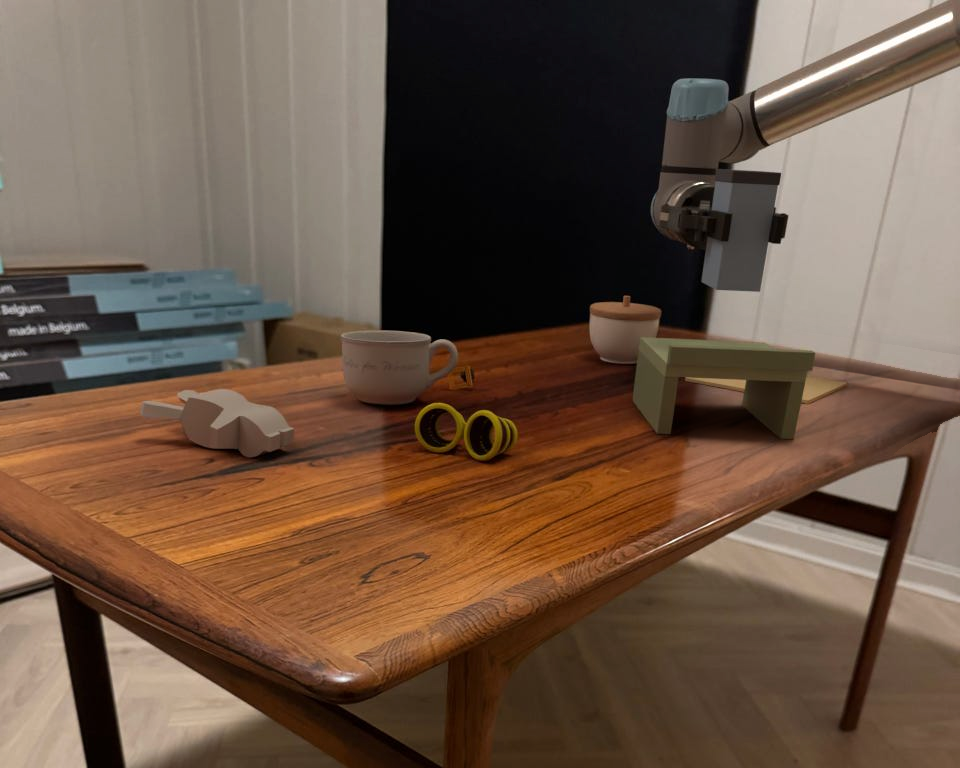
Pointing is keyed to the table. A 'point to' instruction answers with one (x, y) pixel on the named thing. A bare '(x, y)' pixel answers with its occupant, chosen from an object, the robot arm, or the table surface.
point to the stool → (765, 369)
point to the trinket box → (621, 329)
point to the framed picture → (463, 377)
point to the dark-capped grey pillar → (741, 229)
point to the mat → (812, 391)
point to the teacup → (391, 365)
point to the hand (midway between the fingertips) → (753, 228)
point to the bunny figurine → (225, 421)
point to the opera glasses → (466, 432)
